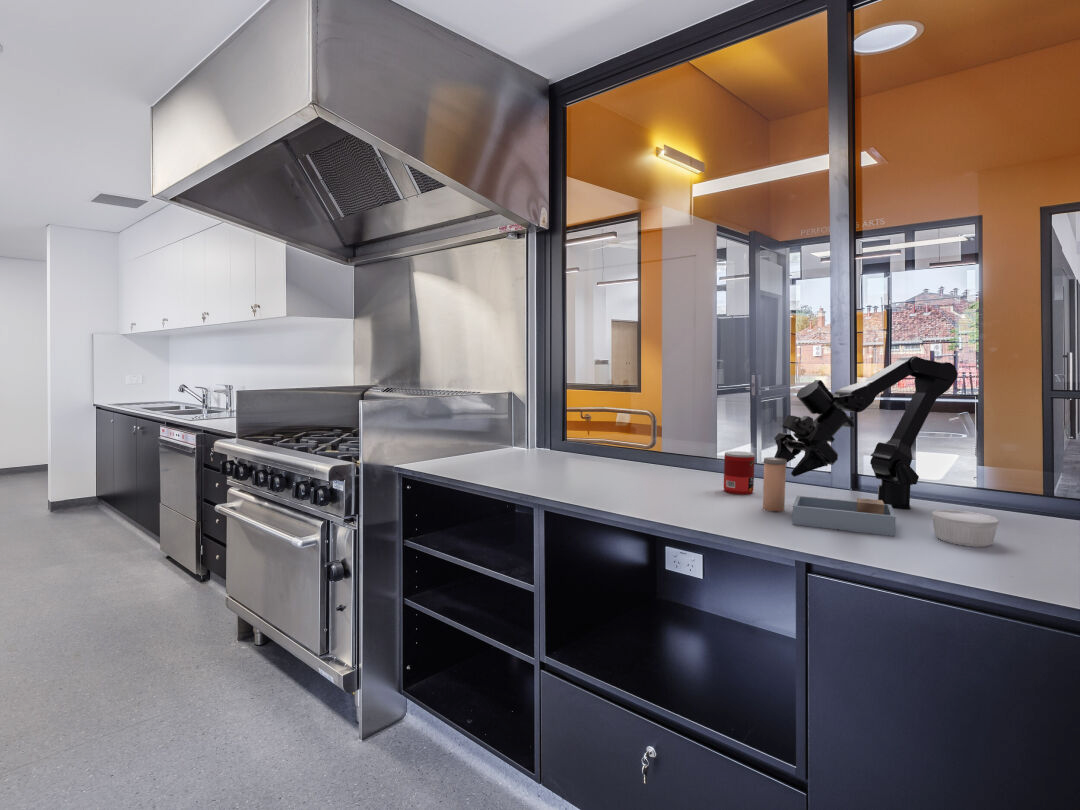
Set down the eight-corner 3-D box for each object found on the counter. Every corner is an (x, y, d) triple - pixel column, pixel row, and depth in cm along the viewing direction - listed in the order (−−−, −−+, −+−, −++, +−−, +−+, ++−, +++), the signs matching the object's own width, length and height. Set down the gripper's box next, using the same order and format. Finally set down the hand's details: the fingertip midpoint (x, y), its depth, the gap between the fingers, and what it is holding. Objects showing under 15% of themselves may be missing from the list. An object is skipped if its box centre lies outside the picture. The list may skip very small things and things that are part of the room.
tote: (890, 522, 134) (891, 504, 134) (894, 536, 123) (895, 516, 123) (796, 512, 143) (796, 495, 143) (792, 524, 132) (792, 506, 132)
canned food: (755, 495, 163) (756, 455, 162) (725, 493, 164) (726, 454, 163) (751, 489, 170) (752, 451, 169) (722, 488, 172) (723, 450, 171)
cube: (881, 522, 132) (882, 500, 131) (883, 527, 127) (884, 504, 127) (856, 519, 134) (857, 497, 134) (856, 524, 130) (857, 502, 129)
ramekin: (963, 532, 127) (964, 508, 127) (1012, 548, 116) (1014, 521, 116) (917, 534, 125) (918, 509, 125) (963, 550, 114) (965, 523, 114)
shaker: (785, 508, 147) (787, 458, 146) (783, 512, 143) (785, 461, 142) (763, 506, 150) (765, 456, 149) (760, 510, 145) (762, 459, 144)
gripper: (782, 402, 155) (741, 444, 154) (828, 406, 137) (782, 454, 135) (808, 432, 157) (768, 474, 156) (857, 440, 138) (812, 488, 137)
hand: (781, 471), depth 146 cm, fingers open, 9 cm apart
